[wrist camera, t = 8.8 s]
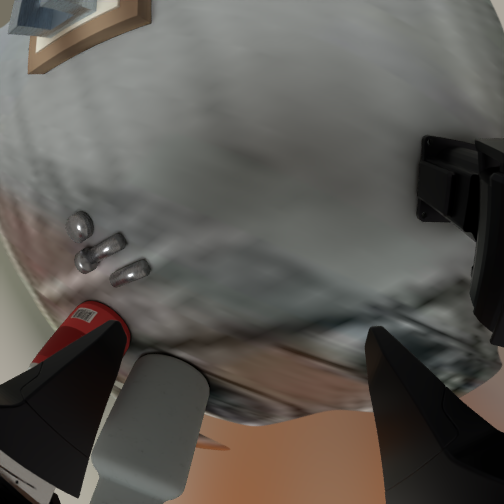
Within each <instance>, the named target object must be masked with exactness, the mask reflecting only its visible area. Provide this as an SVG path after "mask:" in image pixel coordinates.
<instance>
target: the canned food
mask: <svg viewBox="0 0 504 504" xmlns="http://www.w3.org/2000/svg"><path fill="white" fill-rule="evenodd" d="M108 320H118V321H120V322H121V324H122V326H123V329H124V331H125V333H126V335H127V344H126V347H125V350H124V354H123V356H124V355H125V353H126V351H127V349H128V347H129V343H130V332H129V329H128V327H127V325H126V324H125V322H124V321H123V320H122V318H121V317H120V316H119V315H118V314H117V313H116V312H115V311H113V310H112V309H111V308H109V307H107V306H106V305H104V304H101V303H99V302H95V301H87V302H84V303H82V304H80V305H79V306H77V307H76V309H75V310H74V311H73V312H72V313H71V314H70V315H69V317H68V318H67V319H66V320H65V321H64V322H63V323H62V325H61V326H60V327H59V328H58V329H57V331H56V332H55V333H54V334H53V336H52V337H51V338H50V339H49V340H48V342H47V343H46V344H45V345H44V347H43V348H42V349H41V350H40V352H39V353H38V354H37V356H36V357H35V359H34V360H33V361H32V363H31V364H30V366H29V368H28V370H29V369H31V368H32V367H34V366H36V365H37V364H39V363H40V362H42V361H44V360H45V359H47V358H48V357H50V356H52V355H53V354H55V353H56V352H58V351H60V350H61V349H63V348H64V347H66V346H68V345H69V344H71V343H73V342H74V341H76V340H77V339H79V338H81V337H82V336H84V335H86V334H87V333H89V332H90V331H92V330H94V329H95V328H97V327H99V326H100V325H102V324H103V323H105V322H107V321H108ZM122 358H123V357H122Z"/></svg>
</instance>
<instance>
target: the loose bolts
mask: <svg viewBox="0 0 504 504" xmlns="http://www.w3.org/2000/svg"><path fill="white" fill-rule="evenodd" d="M66 230H67V233H68V235H69V237H70V238H71V239H72V240H73V241H74V242H76V243H82V242H83V241H84V240H86V239H87V238H88V237H90V236H91V235H92V233H93V223H92V220H91V218H90V217H89V216H88V215H87V214H86V213H85V212H82V211H80V212H77V213H75V214H74V215H72V216H70V217H69V218H68V219H67V221H66ZM125 246H126V241H125V239H124V237H123V236H122V235H121V234H119V233H118V234H115V235H114V236H112V237H110V238H108V239H107V240H105V241H103V242H102V243H100V244H98V245H96V246H95V247H93V248H91V249H89V248H84V249H83V250H81V251H79V252H78V253H77V254H76V255H75V259H74V261H75V266H76V268H77V269H78V270H79V271H80V272H81V273H83V274H87V273H89V272H91V271H93V270H95V269H96V267H97V264H98V262H99V261H101V260H103V259H105V258H107V257H109V256H110V255H112V254H114V253H116V252H118V251H120V250H122V249H124V248H125ZM149 273H150V267H149V265H148V263H147V262H146V261H145V260H141V261H139V262H136V263H134V264H132V265H130V266H127V267H125V268H123V269H121V270H118V271H116V272H114V273H112V274H111V275H110V283H111V284H112V286H113V287H115V288H117V287H120V286H122V285H125V284H127V283H130V282H133V281H135V280H138V279H140V278H143V277H145V276H148V275H149Z"/></svg>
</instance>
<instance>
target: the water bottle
mask: <svg viewBox="0 0 504 504" xmlns="http://www.w3.org/2000/svg"><path fill="white" fill-rule="evenodd" d="M208 397H209V385H208V383H207V381H206V379H205V377H204V376H203V375H202V374H201V373H200V372H199V371H198V370H196V369H195V368H194V367H192V366H191V365H189V364H188V363H186V362H184V361H182V360H179V359H177V358H174V357H171V356H167V355H161V354H149V355H145V356H143V357H141V358H139V359H138V360H137V361H136V362H135V364H134V366H133V368H132V370H131V372H130V374H129V376H128V378H127V380H126V381H125V383H124V385H123V387H122V389H121V391H120V393H119V395H118V397H117V399H116V401H115V404H114V406H113V408H112V410H111V412H110V414H109V416H108V418H107V420H106V422H105V424H104V427H103V429H102V431H101V433H100V435H99V437H98V439H97V442H96V444H95V446H94V449H93V451H92V454H91V460H92V463H93V466H94V467H95V469H96V470H97V472H98V474H99V480H98V483H97V486H96V488H95V491H94V493H93V496H92V499H91V501H90V504H163V503H164V502H166V501H168V500H172V499H175V498H177V497H179V496H180V495H181V494H182V493H183V491H184V489H185V485H186V481H187V478H188V474H189V470H190V466H191V462H192V458H193V454H194V451H195V447H196V443H197V439H198V435H199V431H200V427H201V424H202V420H203V416H204V412H205V408H206V405H207V401H208Z"/></svg>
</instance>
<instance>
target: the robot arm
mask: <svg viewBox="0 0 504 504" xmlns="http://www.w3.org/2000/svg"><path fill="white" fill-rule="evenodd" d="M428 140H430V145H428V143H427V141H428ZM417 196H418V197H419V199H418V207H417V217H418V219H420V220H421V221H423V222H452V223H453V224H454V225H456V226H457V227H458V228H459V229H461V230H462V231H463V232H464V233H465V234H467V235H468V236H469V237H470V238H471V239H473V240H474V241H475V242H476V250H475V258H474V265H473V267H472V270H471V277H472V279H471V285H470V297H471V300H472V304H473V306H474V311H473V313H474V315H475V316H476V317H477V319H478V320H479V321H480V322H481V323H482V324H483V325H484V326H485V327H486V328H487V329H488V330H490V331H491V332H493V334H492V336H491V339H490V343H491V344H493V345H497V346H501V347H504V138H491V139H475V145H474V144H470V143H466V142H461V141H456V140H451V139H446V138H441V137H435V136H429V135H426V136H424V137H423V139H422V160H421V163H420V167H419V182H418V193H417ZM423 212H425V214H424V216H423V217H422V213H423ZM126 344H127V335H126V333H125V331H124V329H123V326H122V324H121V322H120V321H118V320H108V321H107V322H105V323H103V324H102V325H100V326H99V327H97V328H95V329H94V330H92V331H90V332H89V333H87V334H86V335H84V336H82V337H81V338H79V339H77V340H76V341H74V342H73V343H71V344H69V345H68V346H66V347H64V348H63V349H61V350H60V351H58V352H56V353H55V354H53V355H52V356H50V357H48V358H47V359H45V360H44V361H42V362H40V363H39V364H37V365H36V366H34V367H32V368H31V369H29V370H28V371H26V372H24V373H22V374H20V375H18V376H16V377H14V378H12V379H11V380H9V381H7V382H5V383H3V384H1V385H0V504H61V503H60V500H59V498H58V495H57V494H56V493H54V490H55V488H58V489H60V490H62V491H64V492H66V493H68V494H70V495H72V496H74V497H76V498H79V496H80V491H81V488H82V483H83V479H84V475H85V472H86V468H87V465H88V460H89V457H90V454H91V450H92V447H93V444H94V440H95V437H96V434H97V431H98V428H99V425H100V422H101V419H102V416H103V413H104V410H105V407H106V405H107V402H108V398H109V396H110V394H111V391H112V388H113V385H114V383H115V380H116V377H117V375H118V372H119V368H120V365H121V361H122V357H123V354H124V350H125V347H126ZM365 355H366V364H367V373H368V384H369V391H370V396H371V401H372V406H373V412H374V416H375V422H376V428H377V434H378V440H379V447H380V453H381V460H382V468H383V477H384V486H385V498H386V504H504V433H503V432H501V431H499V430H497V429H496V428H494V427H493V426H492V425H490V424H489V423H488V422H487V421H486V420H484V419H483V418H482V417H480V416H479V415H478V414H477V413H475V412H474V411H473V410H472V409H471V408H469V407H468V406H467V405H466V404H465V403H463V402H462V401H461V400H460V399H459V398H458V397H457V396H456V395H455V394H454V393H453V392H452V391H451V390H450V389H449V388H448V387H445V385H444V384H443V383H442V382H441V381H440V380H439V379H438V378H437V377H436V376H435V375H434V374H433V373H432V372H431V371H430V370H429V369H428V368H427V367H426V366H425V365H424V364H423V363H421V362H420V361H419V360H418V359H417V358H416V357H415V356H414V355H413V354H412V353H411V352H410V351H409V350H408V349H407V348H405V347H404V346H403V345H402V344H401V343H400V342H399V341H398V340H397V339H396V338H395V337H394V336H392V335H391V334H390V333H389V332H388V331H387V330H386V329H385V328H384V327H382V326H372V327H370V329H369V332H368V335H367V339H366V343H365Z"/></svg>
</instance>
